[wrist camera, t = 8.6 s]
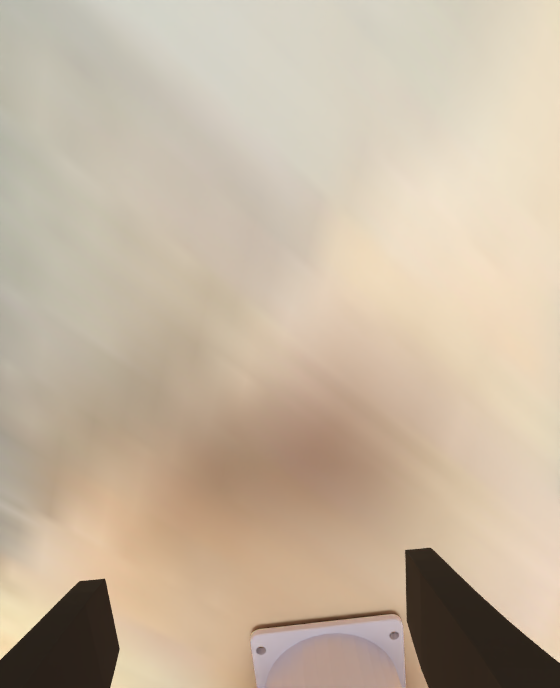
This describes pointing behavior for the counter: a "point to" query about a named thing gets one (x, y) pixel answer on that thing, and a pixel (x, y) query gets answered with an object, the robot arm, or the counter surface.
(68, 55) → the counter surface
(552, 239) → the counter surface
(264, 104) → the counter surface
